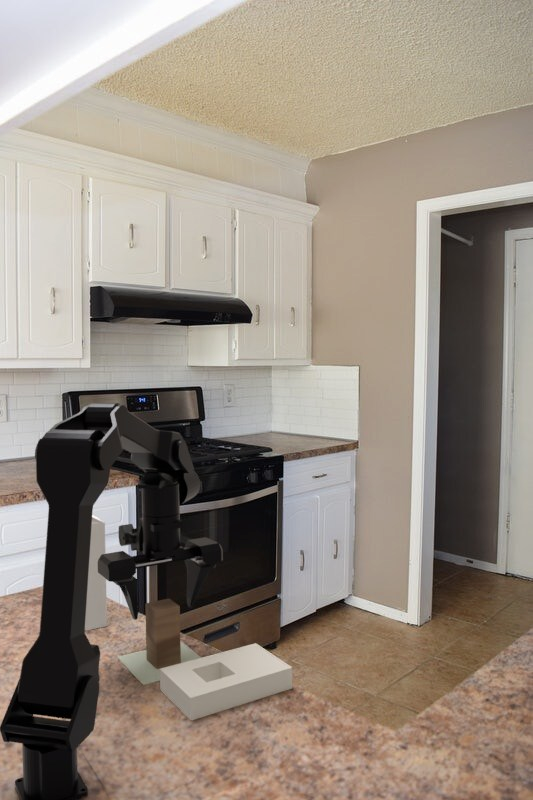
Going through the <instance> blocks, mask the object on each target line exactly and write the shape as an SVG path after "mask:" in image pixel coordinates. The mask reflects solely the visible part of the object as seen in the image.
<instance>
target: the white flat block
mask: <svg viewBox="0 0 533 800" xmlns="http://www.w3.org/2000/svg"><path fill="white" fill-rule="evenodd" d="M159 689H160V691H161V692H162V693H163V694H164V695H165V696H166V697H167V698H168V699H169V700H170V701H171V703H173V704H174V706H176V708H177V709H179V710H180V711H181V713H183V715H184V716H185V717H187V718H188V720H189V721H195V720H198V719H200V718H201V719H202V718H203V717H204V718H205V717H206V716H210V715H213V714H216V713H220V712H223V711H227V710H228V709H229V710H230V709H232V708H236V707H238V706H239V707H240V706H241V705H245V704H248V703H250V702H255V701H257V700H261V699H264V698H267V697H270V696H273V695H276V694H279V693H283V692H286V691H288V690H292V689H293V667H292V666H291V665H289V664H288V663H286V662H285V661H283V660H282V659H280V658H279V657H278V656H275V655H274V654H273V653H271V652H270V651H268V650H267V649H265V648H263V647H262V646H261V645H259V644H258V643H256V642H254V643H251V644H248V645H243V646H240V647H237V648H233V649H230V650H225V651H222V652H218V653H215V654H211V655H207V656H203V657H201V658H199V659H195V660H191V661H187V662H184V663H180V664H176V665H173V666H169V667H165V668H161V669H160V681H159Z"/></svg>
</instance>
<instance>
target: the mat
mask: <svg viewBox="0 0 533 800" xmlns="http://www.w3.org/2000/svg"><path fill="white" fill-rule="evenodd" d="M180 646H181V663H184V662H187V661H191V660H195V659H199V658H202V657H201V656H200V655H199V654H197V653H196V652H195V651H194V650H193V649H191V648H190V647H189V646H188V645H186V643H184V642H183V641H181V640H180ZM117 659H118V661H120V662H121V663H122V664H123V665H124V667H125V668H126V669H127V670H128V671H129V672H130V673H131V674H132V675H133V676H134V677H135V678H136V679H137V681H139V682H140V683H141V684H142V685H143V686H147V685H151V684H154V683H157V682H160V669H161V668H160V669H156V668H155V667H154V666H153V665H152V664H151V663H149V662H148V661H147V657H146V649H143V650H140V651H136V652H131V653H128V654H123V655H120V656H117ZM179 664H180V663H179ZM175 665H176V664H175ZM171 666H173V665H171ZM167 667H169V666H167ZM164 668H165V667H164Z"/></svg>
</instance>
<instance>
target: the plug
mask: <svg viewBox="0 0 533 800" xmlns="http://www.w3.org/2000/svg"><path fill="white" fill-rule="evenodd" d="M144 605H145V643H146V644H145V646H146V647H145V648H146V649H145V650H146V657H147V661H148V662H149V663H151V664H152V665H153V666H154V667H155V668H156V669H160V668H164V667H167V666H171V665H175V664H179V663H181V646H180V641H181V607H180V605H179V604H178V603H177V602H175V601H173V600H172V599H171V598H164V599H161V600H155V601H154V600H153V601H150V602H147V603H145V604H144Z"/></svg>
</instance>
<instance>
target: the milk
mask: <svg viewBox="0 0 533 800" xmlns="http://www.w3.org/2000/svg"><path fill="white" fill-rule="evenodd" d="M102 554H106V524H105V522H104V521H103V520H102V519H100V518H99V517H97V516H96V515H94V514H92V525H91V540H90V556H89V571H88V586H87V601H86V616H85V632H86V631H90V630H91V631H92V630H96V629H101V628H105V627H108V603H107V579H106V578H104V577H103V576H102V575H101V574H99V573H98V560H99V558H100V556H101V555H102Z"/></svg>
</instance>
